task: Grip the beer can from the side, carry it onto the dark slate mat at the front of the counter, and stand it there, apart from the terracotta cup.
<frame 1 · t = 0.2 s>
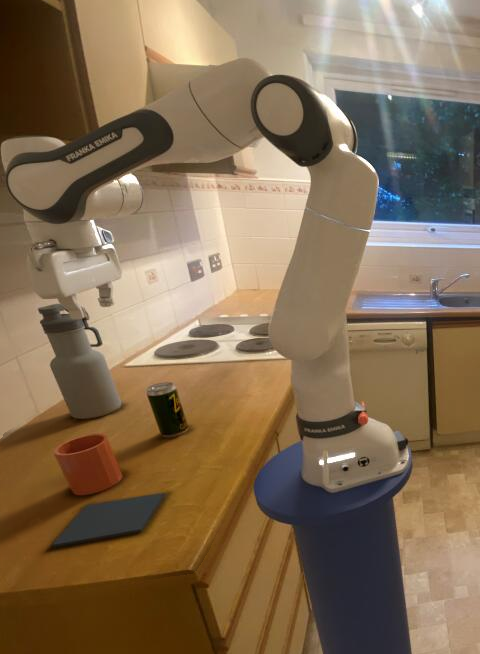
hand: (94, 311, 83), 32 cm above the countertop, tool pointing down, fingers open, 8 cm apart
water bottle: (98, 411, 112), on the countertop
terracotta cup: (98, 483, 85), on the countertop
slate mat: (113, 519, 76), on the countertop
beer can: (175, 432, 103), on the countertop
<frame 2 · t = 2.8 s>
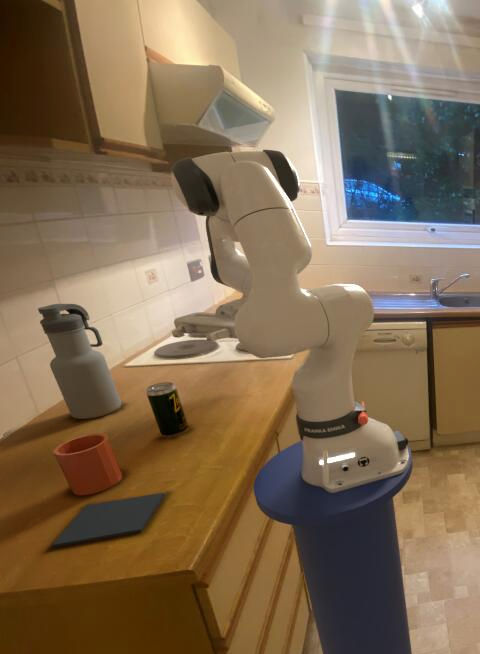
hand: (191, 336, 105), 21 cm above the countertop, tool horizontal, fingers open, 8 cm apart
nothing on the countertop moved.
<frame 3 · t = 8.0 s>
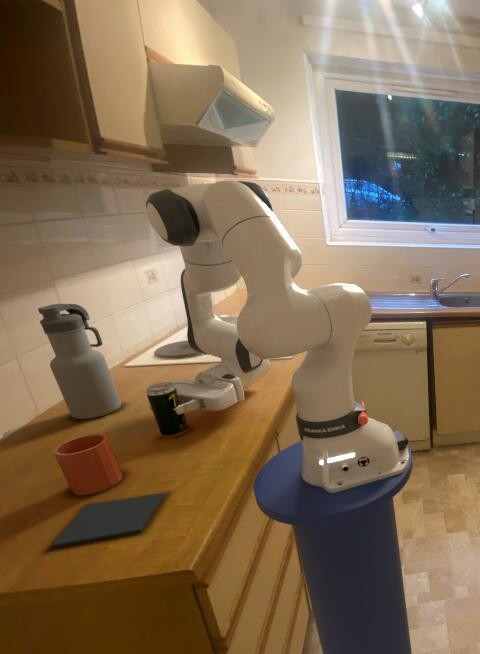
hand: (163, 409, 100), 7 cm above the countertop, tool horizontal, fingers closed on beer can, 5 cm apart
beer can: (175, 432, 103), on the countertop, touching gripper
everything else where it was.
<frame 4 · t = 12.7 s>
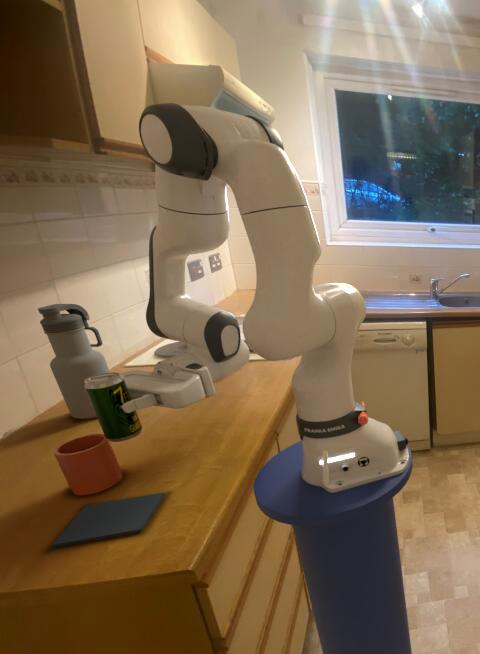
hand: (108, 407, 79), 17 cm above the countertop, tool horizontal, fingers closed on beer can, 5 cm apart
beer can: (125, 436, 82), point 10 cm above the countertop, touching gripper
everything else where it was.
when the fingers open (7 cm above the countertop, at t = 17.4 s): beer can stays where it is, resting on slate mat.
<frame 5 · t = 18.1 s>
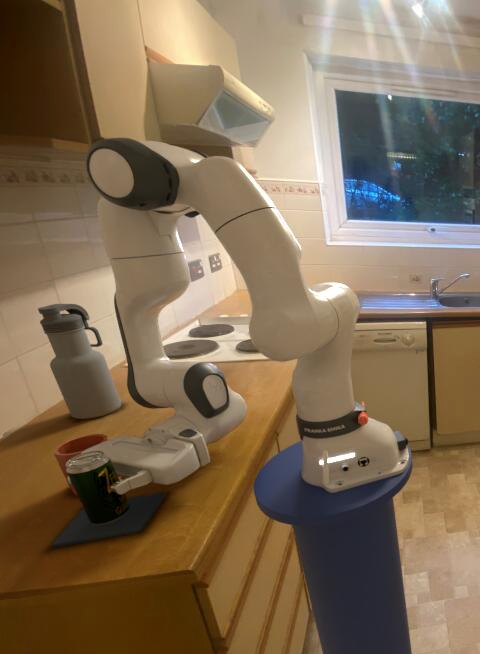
hand: (92, 486, 72), 8 cm above the countertop, tool horizontal, fingers open, 8 cm apart
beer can: (112, 517, 76), resting on slate mat
everything else where it was.
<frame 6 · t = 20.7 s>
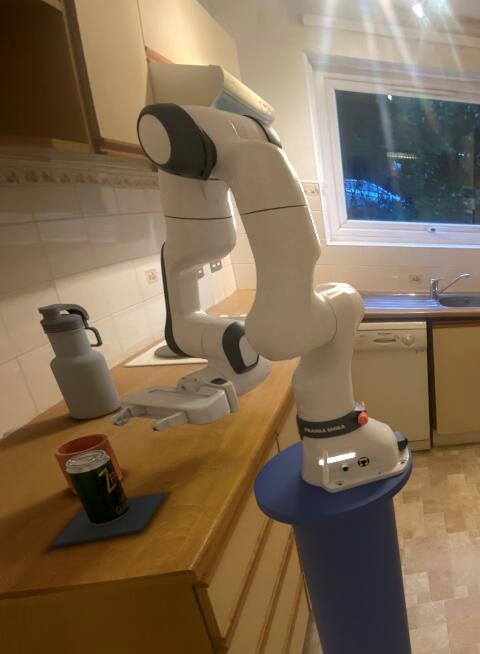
hand: (134, 425, 77), 15 cm above the countertop, tool horizontal, fingers open, 8 cm apart
nothing on the countertop moved.
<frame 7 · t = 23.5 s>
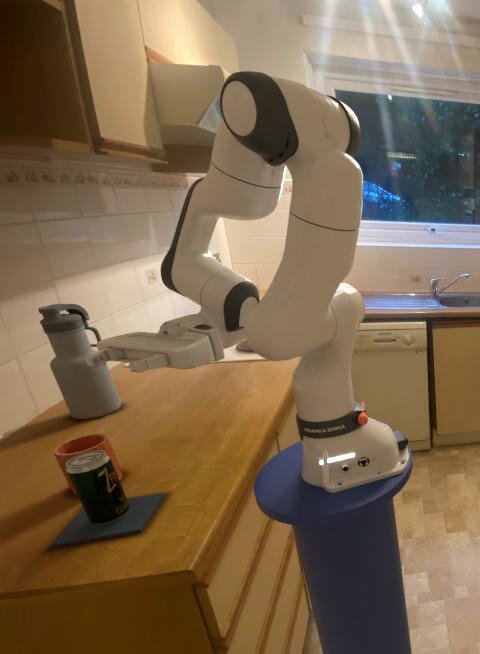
hand: (111, 365, 73), 26 cm above the countertop, tool horizontal, fingers open, 8 cm apart
nothing on the countertop moved.
at the end: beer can inside the target area on the slate mat (0.3 cm from its centre), point 0.4 cm above the slate mat's base; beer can tilted 0°; the gripper is holding nothing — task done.
